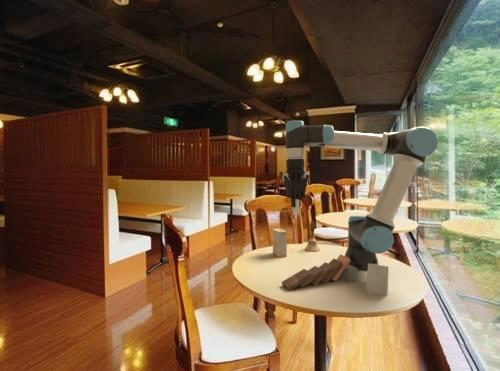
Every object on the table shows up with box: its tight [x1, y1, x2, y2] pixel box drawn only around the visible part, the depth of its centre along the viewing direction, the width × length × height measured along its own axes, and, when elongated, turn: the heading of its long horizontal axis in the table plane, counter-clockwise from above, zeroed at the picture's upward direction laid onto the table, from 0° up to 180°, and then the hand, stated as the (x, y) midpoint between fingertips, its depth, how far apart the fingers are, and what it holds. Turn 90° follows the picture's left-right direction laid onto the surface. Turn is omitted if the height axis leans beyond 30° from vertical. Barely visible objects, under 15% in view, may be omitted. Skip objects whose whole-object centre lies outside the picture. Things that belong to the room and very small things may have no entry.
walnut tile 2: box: [297, 265, 324, 289], centre depth 112 cm, size 2×5×11 cm
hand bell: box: [304, 220, 321, 252], centre depth 158 cm, size 8×8×16 cm
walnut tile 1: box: [281, 268, 313, 291], centre depth 110 cm, size 2×5×11 cm
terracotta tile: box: [329, 253, 351, 282], centre depth 118 cm, size 2×5×11 cm
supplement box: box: [272, 228, 288, 258], centre depth 148 cm, size 8×5×13 cm, turn 17°
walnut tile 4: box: [320, 258, 343, 284], centre depth 116 cm, size 2×5×11 cm
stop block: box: [338, 264, 359, 283], centre depth 119 cm, size 4×10×5 cm, turn 24°
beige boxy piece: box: [366, 263, 389, 296], centre depth 105 cm, size 4×7×10 cm, turn 58°
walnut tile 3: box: [310, 261, 335, 286], centre depth 114 cm, size 2×5×11 cm
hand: (296, 214), depth 121 cm, fingers closed
